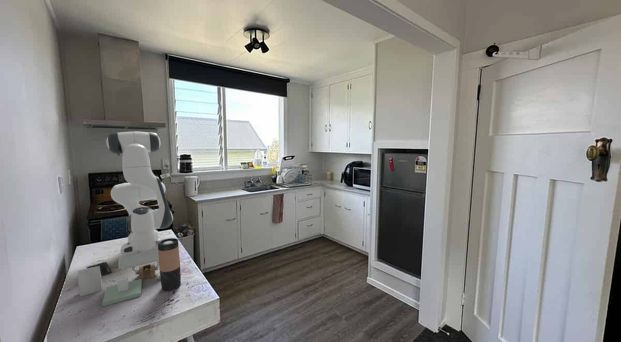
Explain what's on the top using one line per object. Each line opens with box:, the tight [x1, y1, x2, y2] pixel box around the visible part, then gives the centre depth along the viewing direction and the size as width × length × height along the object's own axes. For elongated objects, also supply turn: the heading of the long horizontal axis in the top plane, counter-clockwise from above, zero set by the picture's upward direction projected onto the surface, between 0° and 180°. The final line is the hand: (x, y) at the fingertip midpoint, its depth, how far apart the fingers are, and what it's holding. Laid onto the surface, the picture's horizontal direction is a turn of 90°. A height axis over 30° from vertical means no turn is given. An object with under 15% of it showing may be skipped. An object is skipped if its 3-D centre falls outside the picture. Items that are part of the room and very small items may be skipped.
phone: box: [85, 261, 112, 278], centre depth 120 cm, size 8×1×15 cm
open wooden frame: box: [138, 262, 156, 281], centre depth 115 cm, size 6×6×4 cm
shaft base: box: [101, 277, 143, 307], centre depth 102 cm, size 12×12×6 cm
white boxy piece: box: [77, 266, 103, 297], centre depth 103 cm, size 4×7×10 cm, turn 128°
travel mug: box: [158, 237, 182, 292], centre depth 105 cm, size 8×8×20 cm
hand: (147, 272), depth 115 cm, fingers closed on open wooden frame, 6 cm apart
